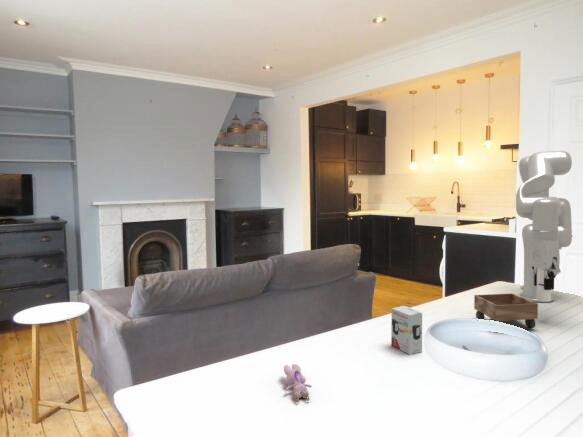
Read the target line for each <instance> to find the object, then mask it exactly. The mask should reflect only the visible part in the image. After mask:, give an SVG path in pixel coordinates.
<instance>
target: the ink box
mask: <svg viewBox="0 0 583 437" xmlns="http://www.w3.org/2000/svg"><path fill="white" fill-rule="evenodd" d="M390 323H391V324H390V325H391V330H390V331H391V333H390V334H391V335H390V336H391V337H390V339H391V342H390V343H391V346H392V345H393V346H392V347H394V348H395V347H396V349H397V348H398V349H397V350H399V349H400V351H401V350H402V351H401V352H403V351H404V352H403V353H405V352H406V354H407V353H408V354H407V355H409V354H410V355H414V354H413V353H415V354H419V353H418V352H420V353H422V352H423V312H422V311H419V310H417V309H414V308H411V307H410V306H409V307H408V306H406V305H401V306H396V307H392V308H391V322H390Z"/></svg>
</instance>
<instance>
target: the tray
mask: <svg viewBox="0 0 583 437" xmlns="http://www.w3.org/2000/svg"><path fill="white" fill-rule="evenodd" d="M473 299H474V304H473V305H474V307H473V308H474V310H475V311H476V312H475V318H476V319H477V318H478V319H484V320H485V316H486V317H489V318H490V320H494V321H498V322H502V321H524V322H525V323H524V324H525V326H526V328H527V329H535V327H536V320H538V317H539V316H538V314H539V312H538V311H539V304H538V302H533V301H529V300H527V299H524V298H522V297H520V296H519V295H517V294H514V293H494V294H493V293H492V294H491V293H490V294H474V298H473ZM490 320H489V321H490Z"/></svg>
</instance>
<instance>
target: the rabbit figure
mask: <svg viewBox="0 0 583 437" xmlns="http://www.w3.org/2000/svg"><path fill="white" fill-rule="evenodd" d="M283 371H284V374H285V375H286V377H285V380H284V382H285V385H286V386H287V387H286V388H285V391H289V389H292V395H293V398H295V399H294V400H295V401H296V402H297V403H300V399H301V397H303V398H307V397H308V398H307V399H306V401H307V402H308V401H309V400H310V401H311V399H310V396H309V395H310V394H309V390H308V388H312V387H313V386H312V385H311V384H308V383H306V381H307V379H306V377H305V376H304V375H303V374H302V369H301V367H300V366H299V365H298V364H295V363H293V364H291V366H290V365H287V364H286V365H284V366H283ZM307 387H308V388H307ZM299 398H300V399H299ZM303 398H302V399H303ZM296 399H297V400H296ZM310 401H309V402H310Z"/></svg>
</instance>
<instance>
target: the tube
mask: <svg viewBox="0 0 583 437" xmlns="http://www.w3.org/2000/svg"><path fill="white" fill-rule="evenodd" d="M550 269H551V268H550ZM550 272H551V271H549V273H550ZM544 278H546V277H545V270H542V269H539V268H537V296H536V299H537V300H539V301H551V296H552V290H544Z"/></svg>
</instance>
